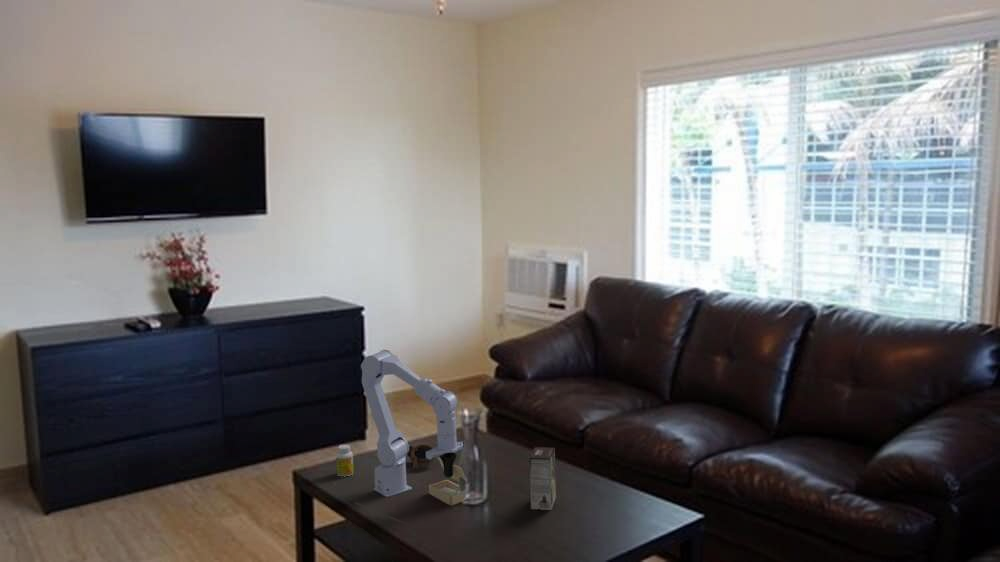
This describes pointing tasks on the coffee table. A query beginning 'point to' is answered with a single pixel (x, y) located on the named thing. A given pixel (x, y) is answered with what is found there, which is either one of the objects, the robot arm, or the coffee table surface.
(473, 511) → the coffee table surface
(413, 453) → the pottery mug
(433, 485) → the mailer box
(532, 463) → the coffee box
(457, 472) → the lid
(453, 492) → the soap
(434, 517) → the coffee table surface
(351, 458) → the supplement bottle
